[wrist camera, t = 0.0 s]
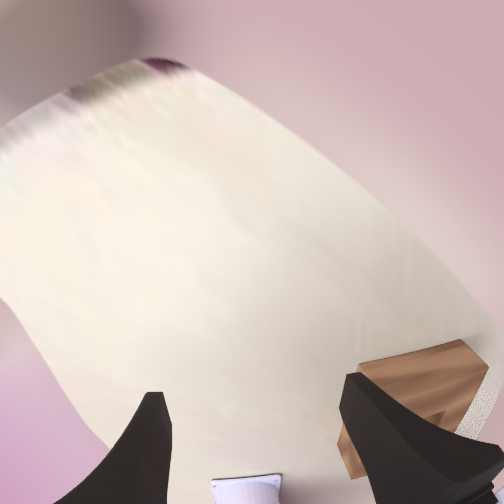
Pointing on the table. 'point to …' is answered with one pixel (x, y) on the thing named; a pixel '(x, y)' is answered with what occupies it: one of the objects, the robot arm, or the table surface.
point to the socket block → (423, 388)
